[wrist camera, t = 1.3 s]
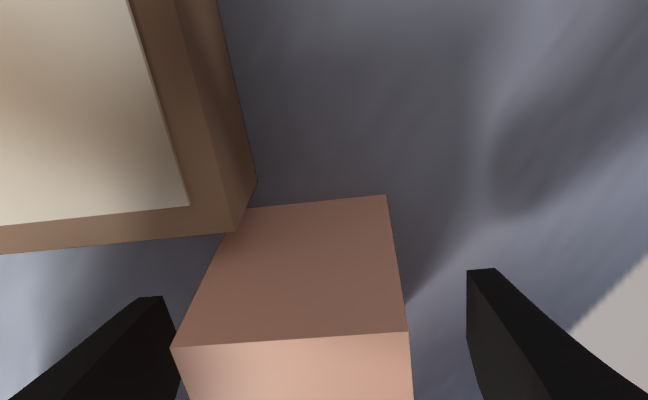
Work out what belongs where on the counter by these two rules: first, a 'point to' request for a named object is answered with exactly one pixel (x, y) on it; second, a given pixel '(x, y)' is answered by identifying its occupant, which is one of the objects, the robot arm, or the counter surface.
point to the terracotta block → (300, 308)
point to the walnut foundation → (117, 124)
